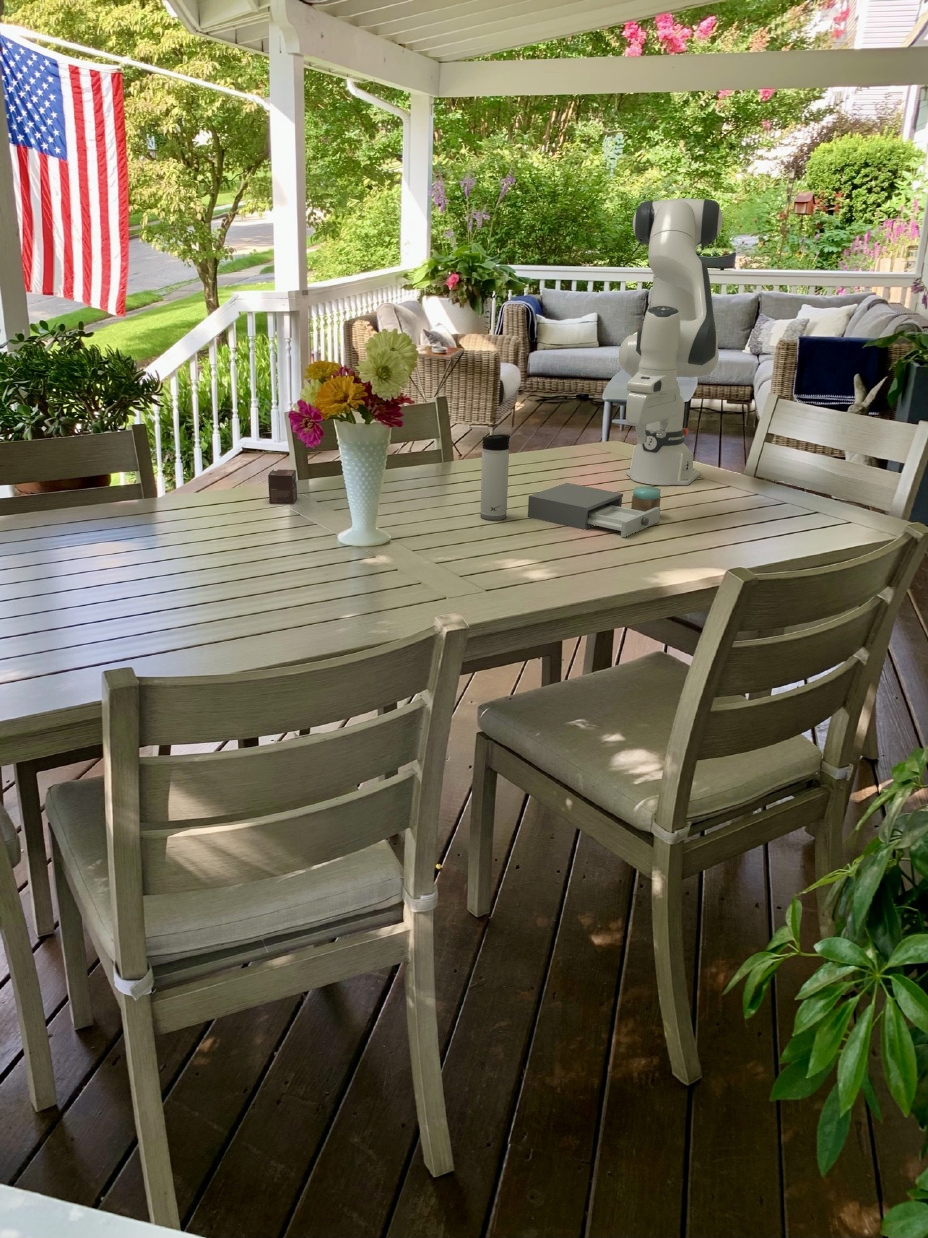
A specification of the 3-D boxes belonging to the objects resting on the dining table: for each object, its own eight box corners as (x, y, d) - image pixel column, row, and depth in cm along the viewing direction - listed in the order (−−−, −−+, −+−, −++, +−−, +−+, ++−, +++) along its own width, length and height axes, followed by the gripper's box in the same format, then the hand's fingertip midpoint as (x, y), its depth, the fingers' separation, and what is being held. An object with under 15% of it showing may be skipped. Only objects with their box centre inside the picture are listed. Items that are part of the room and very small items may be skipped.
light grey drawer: (601, 509, 250) (602, 495, 249) (662, 522, 241) (664, 508, 239) (565, 524, 238) (566, 509, 236) (628, 538, 228) (629, 523, 227)
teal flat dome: (641, 491, 248) (641, 485, 248) (664, 495, 245) (665, 489, 244) (628, 496, 244) (628, 489, 243) (652, 501, 240) (652, 494, 240)
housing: (565, 502, 256) (566, 482, 254) (621, 514, 247) (623, 493, 245) (527, 516, 243) (528, 495, 242) (585, 529, 235) (586, 507, 233)
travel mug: (497, 522, 239) (500, 437, 231) (475, 517, 242) (477, 433, 235) (512, 516, 243) (516, 433, 236) (490, 511, 247) (493, 429, 239)
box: (293, 504, 250) (292, 475, 247) (268, 504, 250) (267, 474, 247) (297, 498, 255) (296, 469, 253) (273, 497, 255) (272, 468, 253)
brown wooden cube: (640, 512, 249) (642, 492, 248) (658, 515, 247) (660, 495, 245) (630, 516, 246) (632, 496, 244) (649, 520, 243) (651, 500, 241)
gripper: (665, 374, 244) (659, 432, 249) (623, 383, 228) (618, 444, 233) (689, 377, 240) (683, 435, 245) (648, 386, 225) (642, 448, 230)
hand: (651, 440), depth 239 cm, fingers open, 8 cm apart
